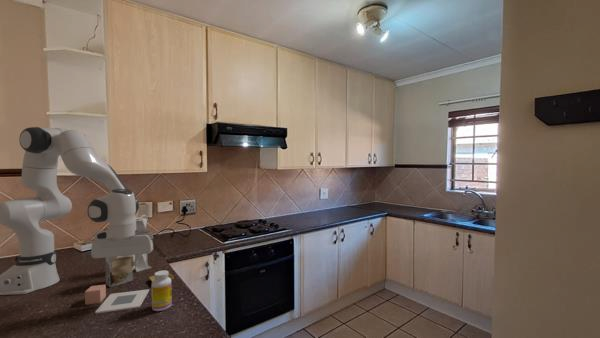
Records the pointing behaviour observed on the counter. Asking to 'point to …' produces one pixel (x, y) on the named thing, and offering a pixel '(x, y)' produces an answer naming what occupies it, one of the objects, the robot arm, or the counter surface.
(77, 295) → the counter surface
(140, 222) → the skyscraper
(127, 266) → the birch block
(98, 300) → the coral cube
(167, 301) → the supplement bottle
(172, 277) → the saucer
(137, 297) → the white flat square slab
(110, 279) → the coffee box
